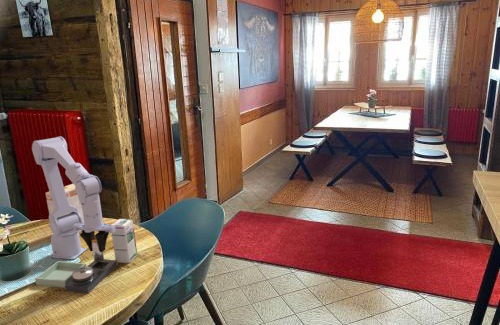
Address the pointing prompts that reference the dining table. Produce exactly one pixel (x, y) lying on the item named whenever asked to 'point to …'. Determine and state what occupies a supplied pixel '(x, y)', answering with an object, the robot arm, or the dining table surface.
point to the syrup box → (124, 241)
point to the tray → (58, 274)
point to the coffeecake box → (71, 198)
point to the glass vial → (96, 250)
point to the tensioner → (89, 276)
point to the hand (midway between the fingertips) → (97, 250)
